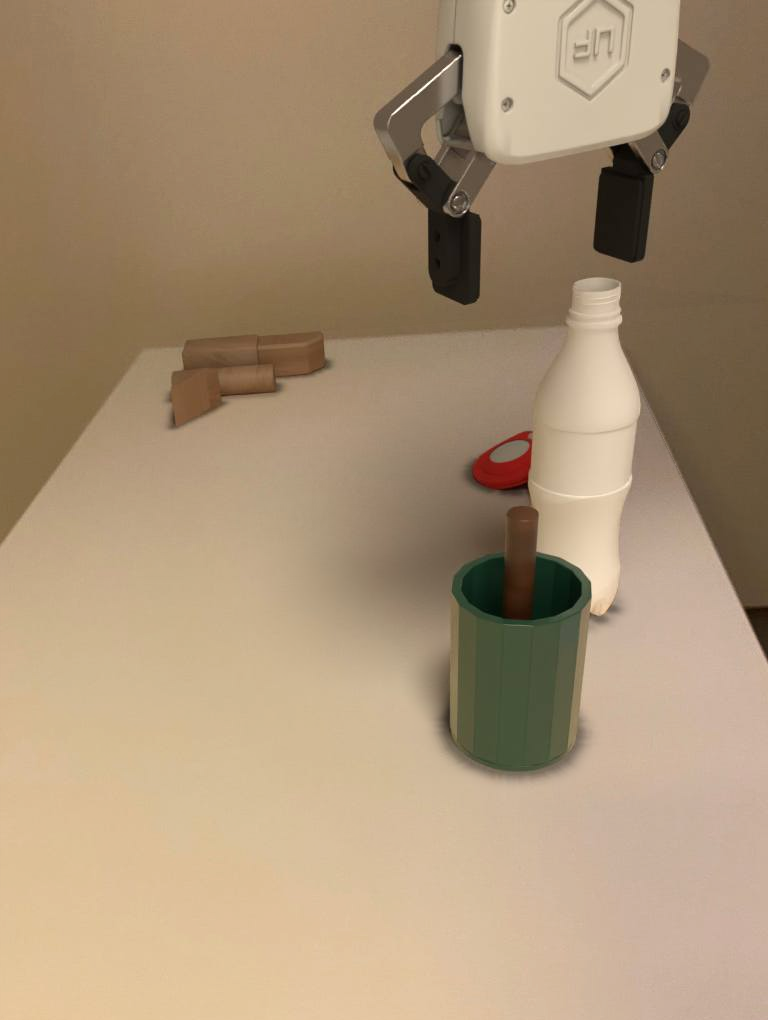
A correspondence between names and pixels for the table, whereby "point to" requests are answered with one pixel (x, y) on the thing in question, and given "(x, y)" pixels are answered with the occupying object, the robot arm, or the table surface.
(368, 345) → the table surface
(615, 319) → the water bottle
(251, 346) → the wooden block set
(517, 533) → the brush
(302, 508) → the table surface
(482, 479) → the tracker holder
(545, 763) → the green faceted cup
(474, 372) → the table surface
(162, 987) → the table surface
